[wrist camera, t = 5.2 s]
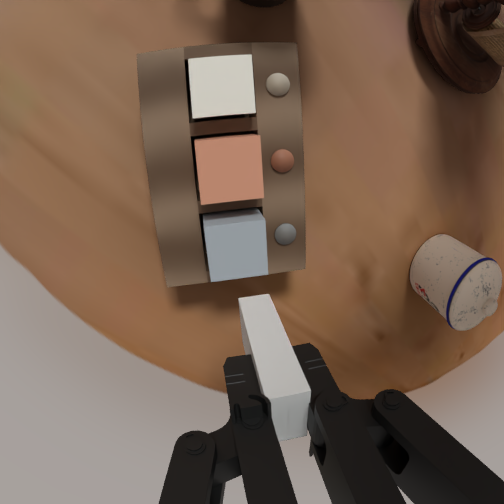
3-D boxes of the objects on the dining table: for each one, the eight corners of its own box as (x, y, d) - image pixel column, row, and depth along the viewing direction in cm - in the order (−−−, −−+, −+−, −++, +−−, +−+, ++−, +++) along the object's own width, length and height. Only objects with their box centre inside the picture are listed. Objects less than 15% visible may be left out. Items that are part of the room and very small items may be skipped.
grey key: (202, 208, 27) (203, 226, 23) (253, 202, 28) (265, 219, 23) (208, 256, 29) (210, 282, 24) (256, 249, 29) (268, 274, 25)
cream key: (189, 70, 23) (188, 58, 19) (242, 66, 24) (251, 54, 19) (193, 119, 25) (192, 118, 21) (245, 114, 26) (255, 112, 21)
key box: (146, 65, 24) (136, 53, 19) (280, 54, 25) (297, 42, 20) (170, 262, 31) (167, 288, 27) (290, 247, 33) (306, 269, 28)
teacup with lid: (395, 288, 37) (450, 342, 27) (426, 221, 34) (494, 261, 24) (449, 303, 41) (498, 347, 30) (476, 248, 38) (533, 284, 27)
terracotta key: (195, 138, 25) (194, 141, 20) (248, 133, 25) (260, 135, 21) (200, 190, 27) (201, 205, 22) (252, 184, 27) (264, 197, 23)
